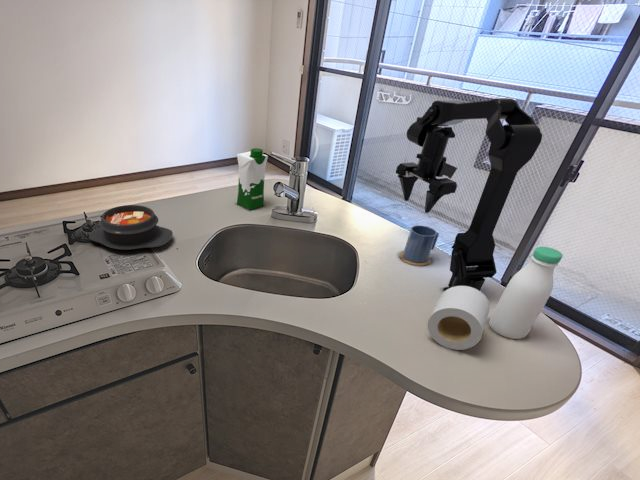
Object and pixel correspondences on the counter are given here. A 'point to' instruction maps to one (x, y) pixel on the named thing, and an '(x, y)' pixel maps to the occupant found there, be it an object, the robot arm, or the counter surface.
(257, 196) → the milk carton
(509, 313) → the milk bottle
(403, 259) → the coaster
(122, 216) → the casserole
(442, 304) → the toilet paper
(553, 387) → the counter surface
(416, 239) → the blue ceramic cup
